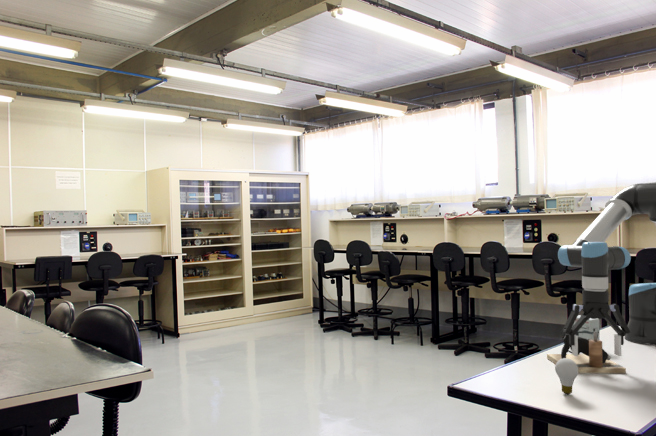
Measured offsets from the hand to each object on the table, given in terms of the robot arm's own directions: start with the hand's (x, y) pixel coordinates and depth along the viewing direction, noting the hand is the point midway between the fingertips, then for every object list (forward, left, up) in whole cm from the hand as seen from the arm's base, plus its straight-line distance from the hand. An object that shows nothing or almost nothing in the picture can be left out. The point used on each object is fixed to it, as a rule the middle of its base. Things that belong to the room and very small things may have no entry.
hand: (596, 355), depth 161 cm
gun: (+1, -4, -4) cm, 6 cm away
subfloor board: (+1, -6, -5) cm, 8 cm away
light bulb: (+19, +23, -5) cm, 30 cm away
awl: (0, 0, -3) cm, 3 cm away
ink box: (-10, -29, -5) cm, 31 cm away
